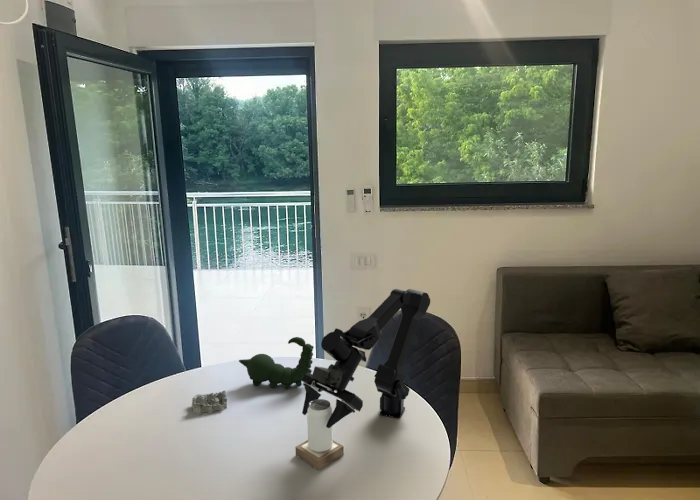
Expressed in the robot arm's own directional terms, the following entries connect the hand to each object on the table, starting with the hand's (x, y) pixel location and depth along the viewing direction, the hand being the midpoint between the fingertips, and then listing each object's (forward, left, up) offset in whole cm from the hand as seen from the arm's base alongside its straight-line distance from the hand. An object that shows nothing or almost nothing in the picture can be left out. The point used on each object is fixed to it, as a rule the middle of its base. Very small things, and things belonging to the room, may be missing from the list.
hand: (315, 420), depth 132 cm
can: (-1, -1, -8) cm, 8 cm away
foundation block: (-1, -1, -11) cm, 11 cm away
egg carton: (+42, -12, -11) cm, 45 cm away
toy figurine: (+29, -32, -11) cm, 45 cm away
